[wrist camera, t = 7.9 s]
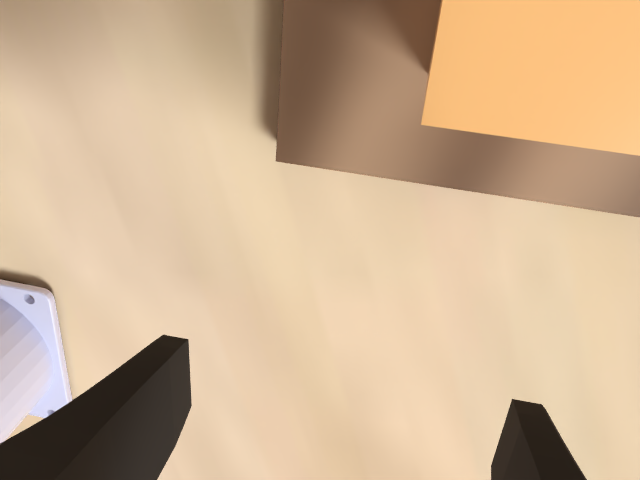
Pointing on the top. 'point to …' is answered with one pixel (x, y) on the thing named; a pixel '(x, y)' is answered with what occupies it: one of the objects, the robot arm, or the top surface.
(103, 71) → the top surface
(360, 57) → the brown rectangular slab
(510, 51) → the orange cube
